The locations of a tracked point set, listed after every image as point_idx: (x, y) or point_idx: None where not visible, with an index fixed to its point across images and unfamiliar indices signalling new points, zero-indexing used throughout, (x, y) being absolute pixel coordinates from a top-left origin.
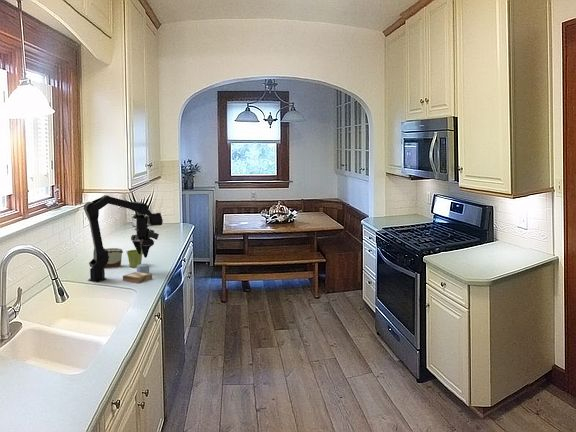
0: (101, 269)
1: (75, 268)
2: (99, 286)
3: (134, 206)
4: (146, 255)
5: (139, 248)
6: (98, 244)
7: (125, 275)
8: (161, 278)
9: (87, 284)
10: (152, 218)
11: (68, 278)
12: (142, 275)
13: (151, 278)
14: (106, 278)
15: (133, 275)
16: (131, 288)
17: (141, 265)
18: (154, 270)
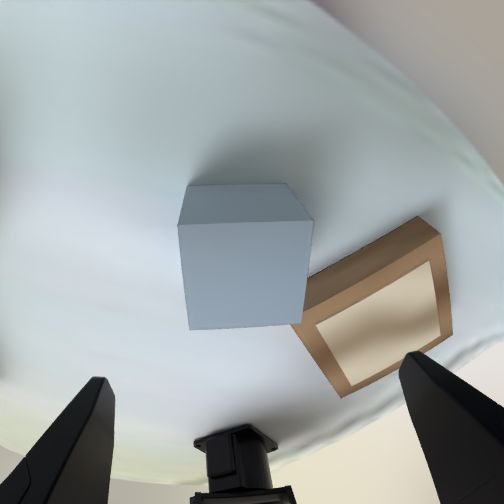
0: (269, 485)
1: (4, 433)
2: (347, 436)
3: None
4: (438, 376)
5: (83, 481)
6: None
7: (342, 387)
8: (451, 150)
9: (286, 460)
10: None
11: (157, 479)
12: (431, 307)
13: (421, 221)
14: (251, 428)
15: (387, 354)
16: (467, 348)
17: (246, 296)
18: (129, 79)
